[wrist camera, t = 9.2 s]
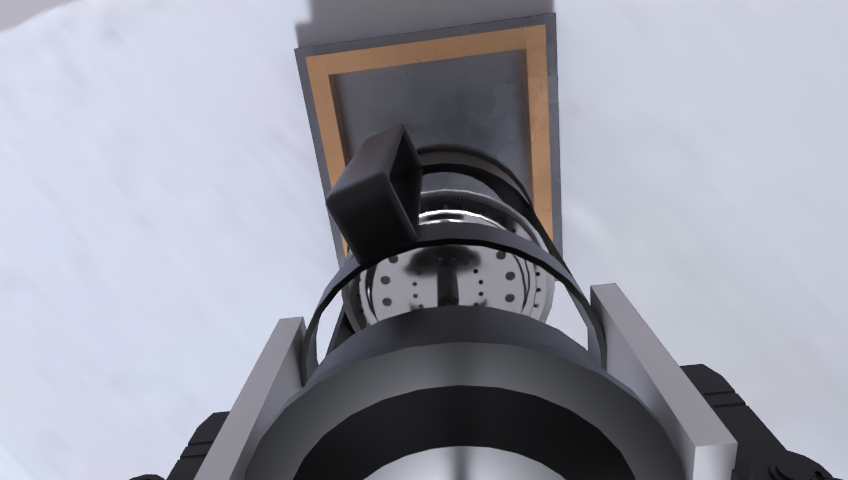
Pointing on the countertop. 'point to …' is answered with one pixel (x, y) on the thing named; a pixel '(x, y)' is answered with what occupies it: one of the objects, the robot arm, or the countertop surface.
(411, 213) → the french press
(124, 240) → the countertop surface
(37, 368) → the countertop surface
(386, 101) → the rectangular wooden frame
